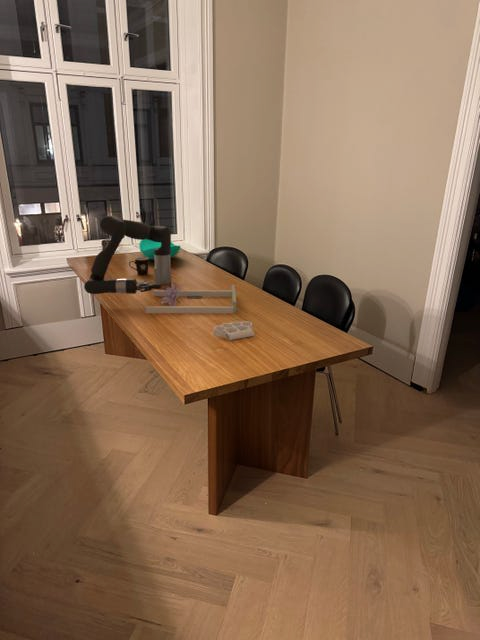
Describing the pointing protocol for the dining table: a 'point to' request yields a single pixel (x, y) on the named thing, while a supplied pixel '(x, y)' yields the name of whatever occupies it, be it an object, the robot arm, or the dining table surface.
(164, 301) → the water lily
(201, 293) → the grey u-shaped frame
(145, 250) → the table top decor
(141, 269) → the coffee mug
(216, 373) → the dining table surface
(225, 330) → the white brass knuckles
